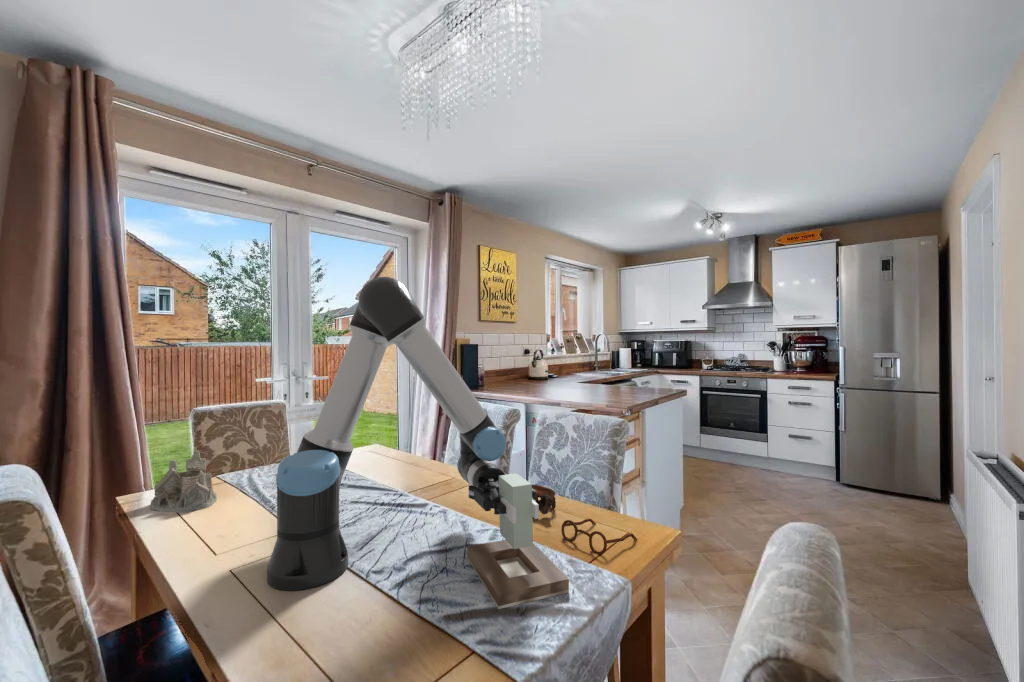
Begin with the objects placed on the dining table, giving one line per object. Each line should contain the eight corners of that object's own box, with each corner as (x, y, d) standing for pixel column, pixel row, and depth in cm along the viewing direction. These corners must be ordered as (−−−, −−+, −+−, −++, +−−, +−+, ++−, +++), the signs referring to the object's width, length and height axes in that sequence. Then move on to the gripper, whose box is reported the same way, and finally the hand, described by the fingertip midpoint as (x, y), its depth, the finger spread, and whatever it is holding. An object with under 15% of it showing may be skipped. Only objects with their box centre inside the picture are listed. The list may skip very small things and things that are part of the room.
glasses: (560, 539, 106) (560, 518, 106) (594, 525, 115) (594, 505, 115) (604, 559, 96) (604, 536, 97) (638, 541, 105) (638, 520, 105)
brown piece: (513, 511, 125) (522, 482, 128) (541, 522, 127) (549, 493, 131) (534, 514, 114) (543, 482, 118) (564, 526, 117) (571, 494, 120)
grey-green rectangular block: (514, 549, 85) (512, 486, 85) (499, 533, 93) (498, 475, 93) (533, 545, 87) (531, 484, 87) (517, 529, 94) (516, 473, 94)
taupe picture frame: (498, 609, 78) (498, 594, 78) (467, 558, 96) (467, 546, 96) (568, 592, 83) (568, 578, 83) (526, 547, 101) (526, 536, 101)
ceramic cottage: (154, 500, 133) (156, 450, 132) (219, 493, 140) (221, 446, 140) (139, 522, 119) (141, 466, 118) (212, 513, 126) (214, 461, 126)
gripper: (520, 490, 110) (565, 525, 88) (452, 500, 103) (483, 541, 82) (519, 459, 110) (564, 487, 88) (452, 468, 103) (482, 500, 82)
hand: (525, 513), depth 85 cm, fingers closed on grey-green rectangular block, 4 cm apart
